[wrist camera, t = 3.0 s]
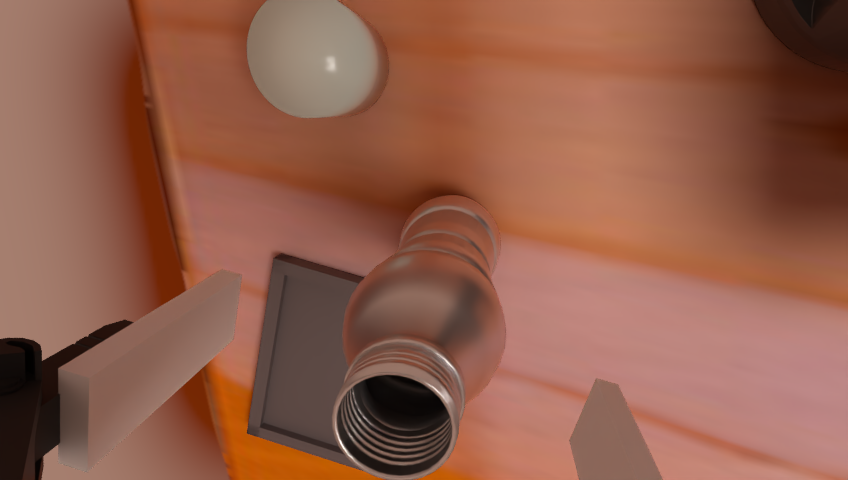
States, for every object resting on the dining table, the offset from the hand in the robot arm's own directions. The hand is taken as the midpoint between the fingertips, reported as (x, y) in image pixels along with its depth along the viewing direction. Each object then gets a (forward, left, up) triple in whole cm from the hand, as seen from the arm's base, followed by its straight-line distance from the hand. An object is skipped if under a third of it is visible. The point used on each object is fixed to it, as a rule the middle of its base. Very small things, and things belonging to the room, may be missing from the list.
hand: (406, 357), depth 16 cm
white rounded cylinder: (-9, -10, -16) cm, 21 cm away
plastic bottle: (0, 0, -16) cm, 16 cm away
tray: (+13, -6, -16) cm, 21 cm away
